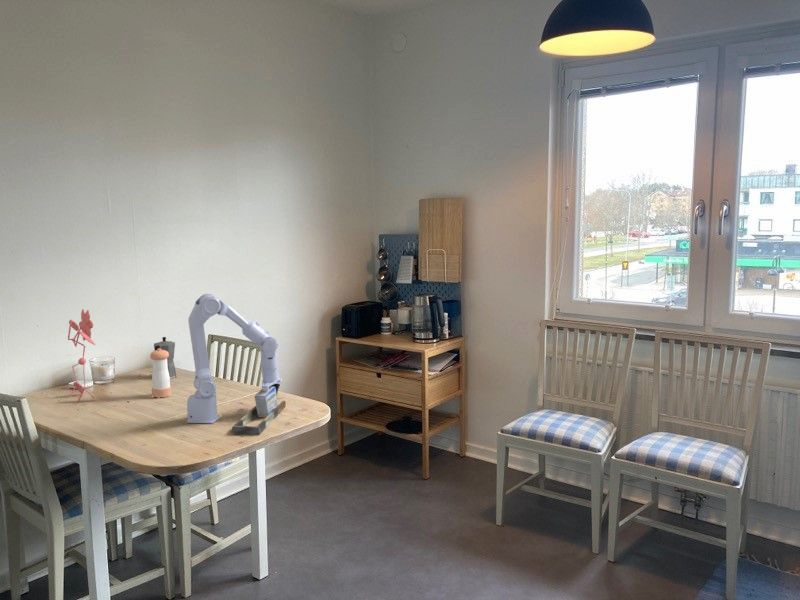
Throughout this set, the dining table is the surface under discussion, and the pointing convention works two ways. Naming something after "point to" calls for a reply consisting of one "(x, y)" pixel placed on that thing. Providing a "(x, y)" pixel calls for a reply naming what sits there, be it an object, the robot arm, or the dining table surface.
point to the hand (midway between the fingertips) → (273, 403)
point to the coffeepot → (169, 347)
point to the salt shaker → (160, 374)
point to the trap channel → (253, 430)
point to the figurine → (86, 333)
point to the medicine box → (266, 401)
